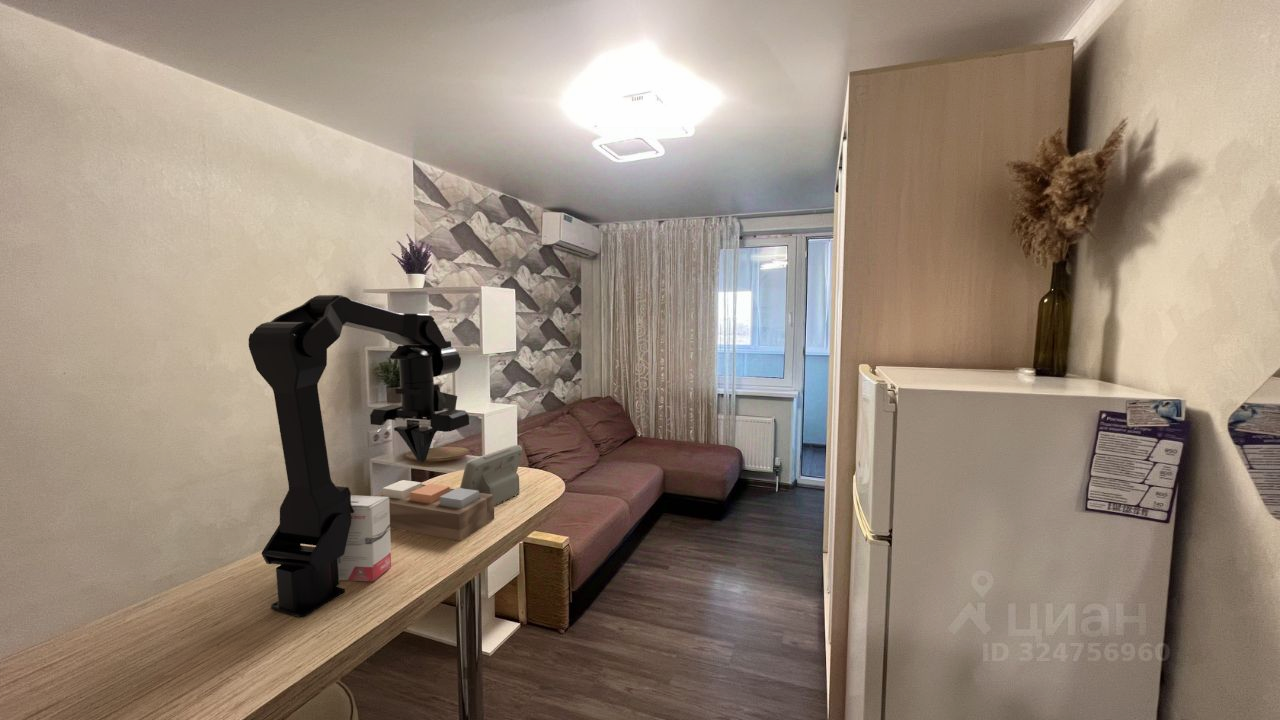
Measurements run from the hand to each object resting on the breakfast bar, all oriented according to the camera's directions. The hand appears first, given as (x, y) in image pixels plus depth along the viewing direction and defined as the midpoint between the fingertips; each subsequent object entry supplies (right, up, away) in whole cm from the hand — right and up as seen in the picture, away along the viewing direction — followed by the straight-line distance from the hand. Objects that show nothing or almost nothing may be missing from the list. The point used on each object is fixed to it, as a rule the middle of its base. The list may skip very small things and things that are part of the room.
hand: (422, 461), depth 92 cm
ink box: (-3, -14, -16) cm, 22 cm away
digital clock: (+9, -12, +15) cm, 21 cm away
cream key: (-6, -9, +5) cm, 12 cm away
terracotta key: (+1, -9, +2) cm, 9 cm away
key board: (+1, -12, +3) cm, 13 cm away
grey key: (+7, -9, 0) cm, 12 cm away
